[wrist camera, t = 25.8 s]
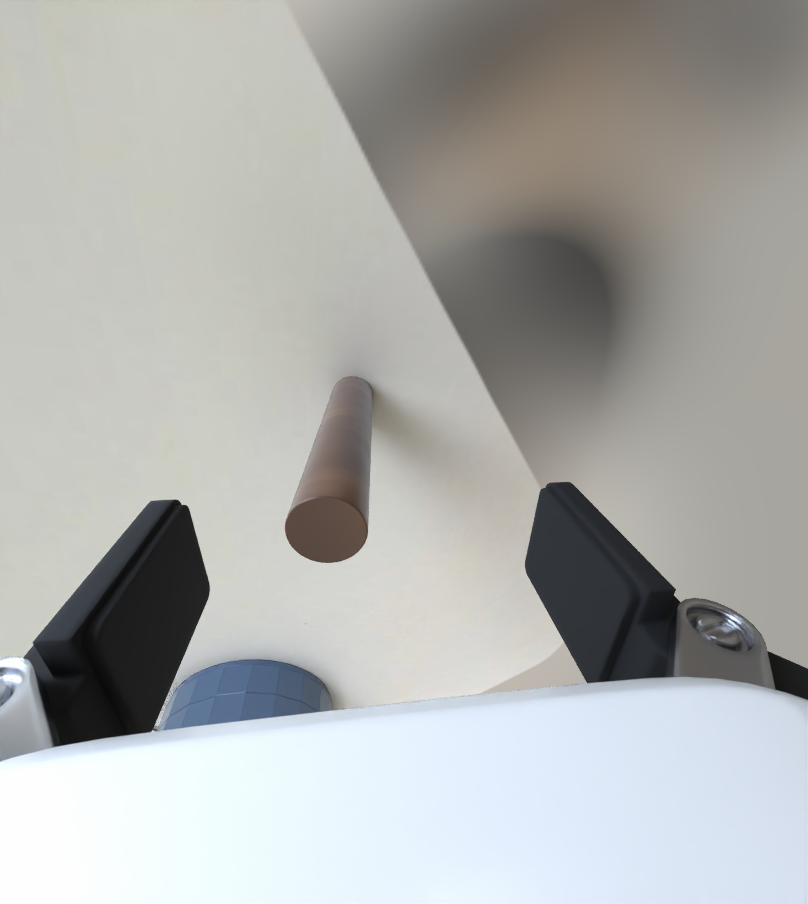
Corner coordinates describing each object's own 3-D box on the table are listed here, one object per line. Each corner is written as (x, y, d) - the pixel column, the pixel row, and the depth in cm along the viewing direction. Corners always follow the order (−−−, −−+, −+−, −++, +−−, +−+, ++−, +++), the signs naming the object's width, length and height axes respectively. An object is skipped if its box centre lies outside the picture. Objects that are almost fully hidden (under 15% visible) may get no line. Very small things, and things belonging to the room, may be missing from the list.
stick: (376, 380, 24) (374, 503, 12) (369, 418, 26) (360, 568, 13) (335, 372, 24) (288, 490, 12) (329, 411, 25) (281, 558, 13)
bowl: (326, 651, 36) (323, 713, 31) (335, 741, 43) (334, 803, 38) (149, 669, 34) (116, 739, 29) (189, 760, 41) (168, 829, 36)
